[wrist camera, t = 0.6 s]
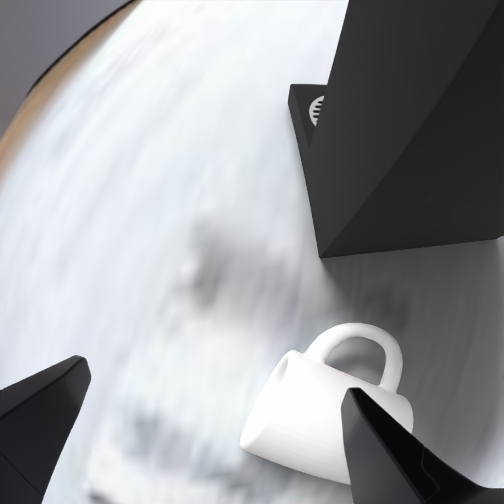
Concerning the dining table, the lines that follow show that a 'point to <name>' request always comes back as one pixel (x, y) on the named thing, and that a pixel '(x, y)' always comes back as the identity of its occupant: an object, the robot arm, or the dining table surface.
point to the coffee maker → (407, 128)
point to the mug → (319, 405)
